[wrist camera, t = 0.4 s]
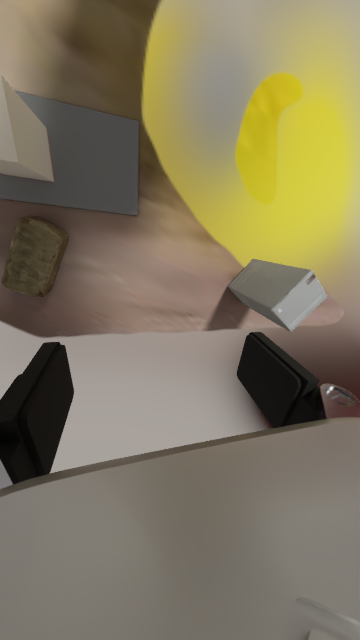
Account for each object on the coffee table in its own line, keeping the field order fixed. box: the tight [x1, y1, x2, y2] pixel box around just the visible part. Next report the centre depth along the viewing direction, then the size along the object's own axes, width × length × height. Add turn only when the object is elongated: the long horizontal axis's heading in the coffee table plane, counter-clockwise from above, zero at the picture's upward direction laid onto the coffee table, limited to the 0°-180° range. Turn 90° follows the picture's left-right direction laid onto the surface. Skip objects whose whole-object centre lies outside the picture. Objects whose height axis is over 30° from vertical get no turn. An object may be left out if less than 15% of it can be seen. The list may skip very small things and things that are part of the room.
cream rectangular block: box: [0, 75, 54, 182], centre depth 22 cm, size 6×6×11 cm
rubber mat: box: [0, 91, 139, 216], centre depth 28 cm, size 12×20×1 cm, turn 84°
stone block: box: [2, 216, 69, 297], centre depth 31 cm, size 6×12×5 cm, turn 151°
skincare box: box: [228, 259, 328, 332], centre depth 37 cm, size 8×7×16 cm
